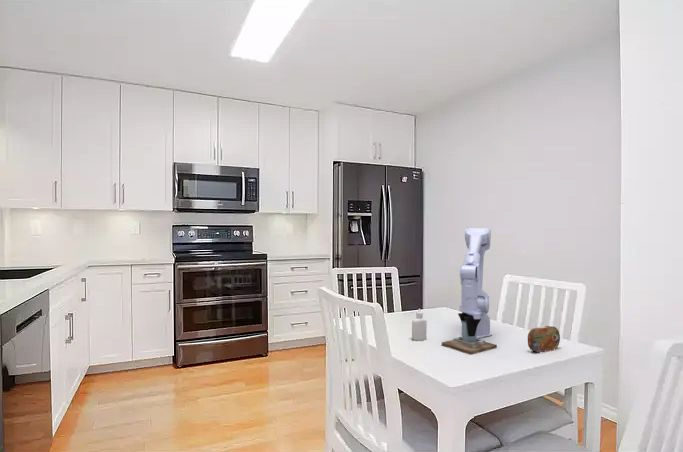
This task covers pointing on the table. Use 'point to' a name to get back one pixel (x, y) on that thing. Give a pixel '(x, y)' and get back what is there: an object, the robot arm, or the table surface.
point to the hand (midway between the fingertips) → (469, 334)
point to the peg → (465, 334)
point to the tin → (543, 339)
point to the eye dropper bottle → (419, 327)
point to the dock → (469, 345)
